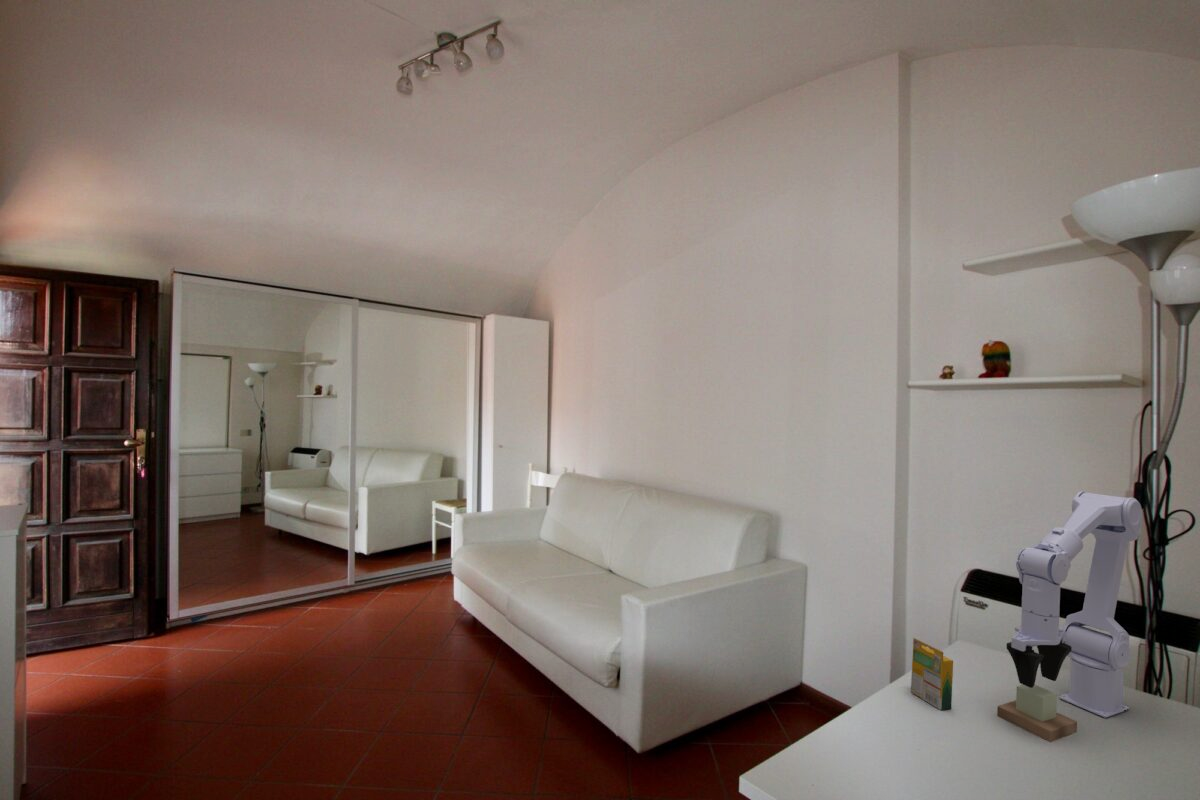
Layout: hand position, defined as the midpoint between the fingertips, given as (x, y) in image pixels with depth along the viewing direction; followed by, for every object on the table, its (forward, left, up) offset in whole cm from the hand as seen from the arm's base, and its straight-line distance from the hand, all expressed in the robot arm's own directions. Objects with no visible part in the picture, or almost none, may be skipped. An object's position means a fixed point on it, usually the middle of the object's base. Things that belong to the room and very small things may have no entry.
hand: (1037, 681), depth 106 cm
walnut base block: (0, 0, -9) cm, 9 cm away
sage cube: (0, 0, -6) cm, 6 cm away
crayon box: (+12, -13, -8) cm, 20 cm away
